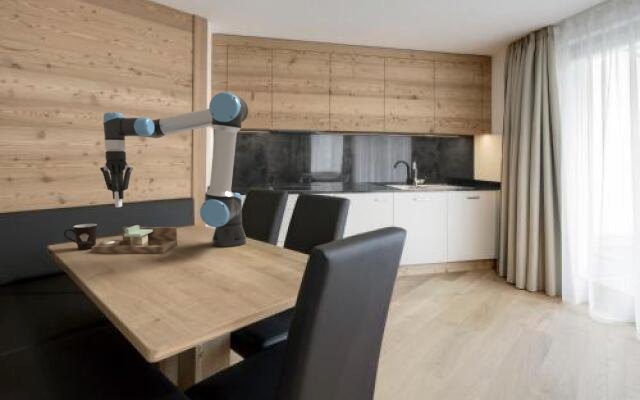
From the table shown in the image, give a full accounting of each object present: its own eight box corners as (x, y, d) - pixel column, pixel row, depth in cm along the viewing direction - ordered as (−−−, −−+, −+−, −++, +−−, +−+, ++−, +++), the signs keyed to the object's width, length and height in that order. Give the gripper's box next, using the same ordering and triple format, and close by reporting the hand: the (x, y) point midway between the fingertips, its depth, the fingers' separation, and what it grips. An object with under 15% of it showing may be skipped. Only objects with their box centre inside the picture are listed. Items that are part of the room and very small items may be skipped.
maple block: (148, 247, 169) (147, 234, 168) (142, 250, 164) (141, 236, 163) (137, 247, 169) (136, 234, 168) (131, 250, 164) (130, 236, 163)
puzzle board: (177, 245, 173) (176, 227, 172) (163, 253, 159) (162, 233, 158) (111, 244, 174) (110, 226, 173) (92, 252, 160) (90, 233, 159)
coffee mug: (102, 246, 172) (101, 223, 170) (89, 251, 163) (87, 227, 162) (78, 245, 173) (76, 223, 172) (63, 250, 164) (61, 227, 163)
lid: (153, 231, 171) (152, 224, 171) (140, 236, 160) (140, 229, 160) (137, 231, 171) (137, 224, 171) (124, 236, 160) (123, 229, 160)
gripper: (135, 150, 165) (138, 205, 168) (105, 150, 166) (108, 205, 169) (126, 150, 158) (129, 208, 161) (94, 150, 159) (98, 207, 161)
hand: (118, 206), depth 165 cm, fingers closed
